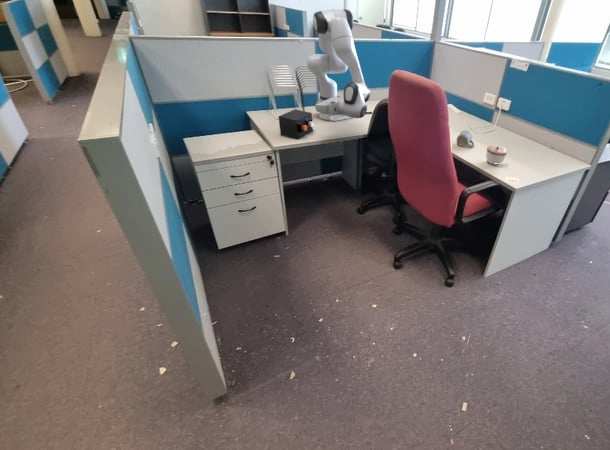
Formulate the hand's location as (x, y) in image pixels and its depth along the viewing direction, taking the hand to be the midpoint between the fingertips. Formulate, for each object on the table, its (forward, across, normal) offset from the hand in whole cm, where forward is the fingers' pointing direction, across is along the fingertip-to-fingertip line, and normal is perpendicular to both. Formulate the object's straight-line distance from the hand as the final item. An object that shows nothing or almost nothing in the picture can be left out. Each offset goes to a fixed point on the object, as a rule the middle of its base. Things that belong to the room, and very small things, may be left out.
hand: (317, 102), depth 187 cm
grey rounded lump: (-82, -36, +20) cm, 92 cm away
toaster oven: (+13, +2, +20) cm, 24 cm away
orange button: (+5, +7, +16) cm, 18 cm away
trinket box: (-102, -19, +20) cm, 106 cm away
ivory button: (+5, 0, +16) cm, 16 cm away
